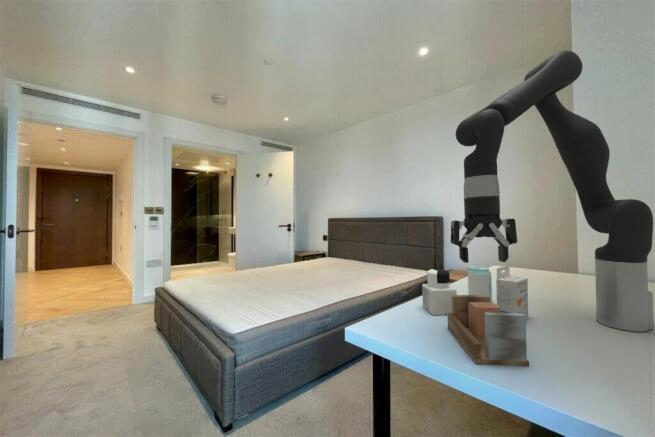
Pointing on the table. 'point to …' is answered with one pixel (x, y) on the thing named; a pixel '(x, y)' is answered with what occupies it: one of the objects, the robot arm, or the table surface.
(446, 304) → the container
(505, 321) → the shelf
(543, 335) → the table surface
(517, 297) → the ink box
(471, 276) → the can
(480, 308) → the book
